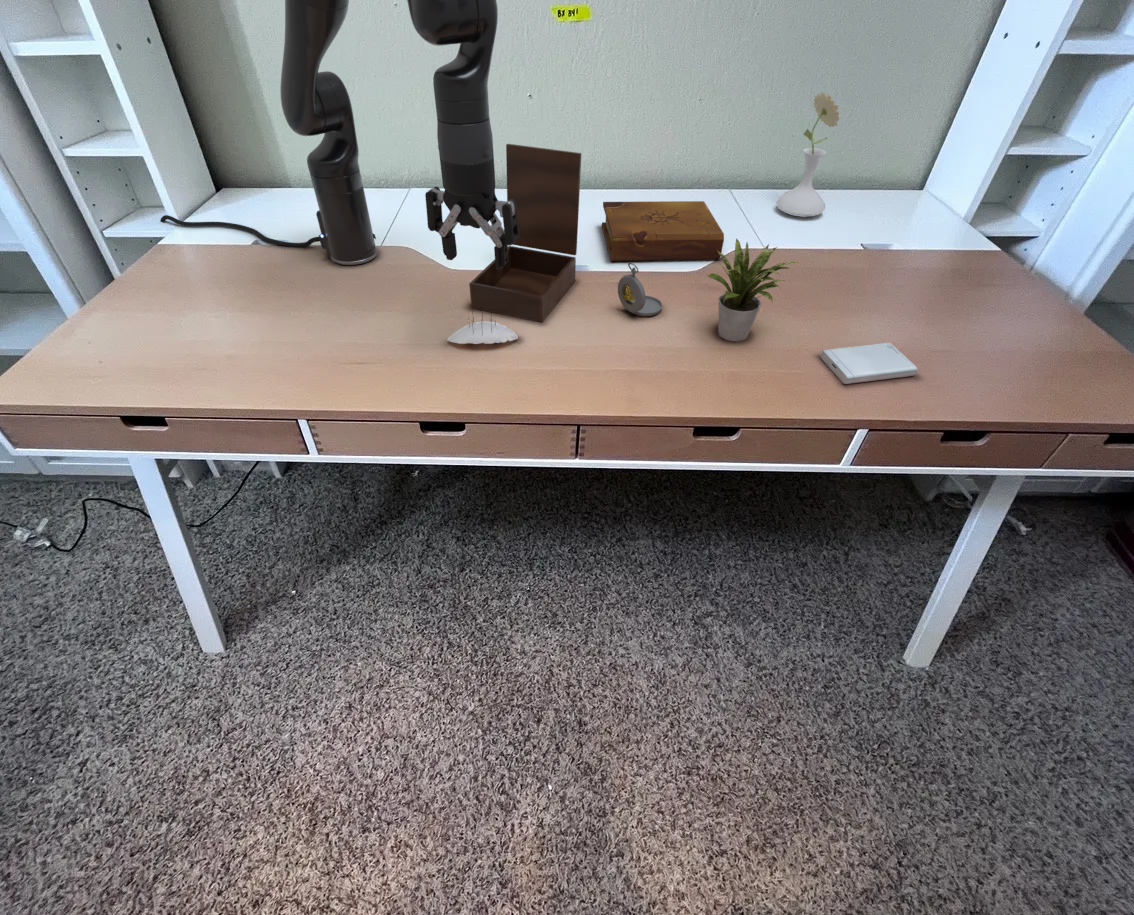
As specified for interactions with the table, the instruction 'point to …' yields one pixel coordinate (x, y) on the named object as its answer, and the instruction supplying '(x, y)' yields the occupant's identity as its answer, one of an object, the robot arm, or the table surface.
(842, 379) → the hard drive
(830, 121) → the flower in vase
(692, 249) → the diary
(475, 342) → the pincushion
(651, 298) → the pocket watch
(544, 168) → the lid
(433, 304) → the table surface
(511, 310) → the box
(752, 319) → the house plant
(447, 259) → the robot arm
